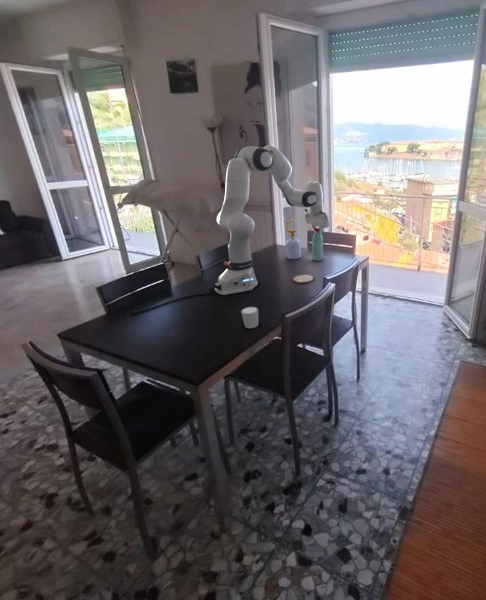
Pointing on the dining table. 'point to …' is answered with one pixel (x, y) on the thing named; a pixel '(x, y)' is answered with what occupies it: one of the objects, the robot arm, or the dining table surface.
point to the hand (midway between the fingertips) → (317, 232)
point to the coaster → (303, 279)
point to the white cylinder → (250, 317)
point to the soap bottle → (293, 245)
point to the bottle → (317, 246)
